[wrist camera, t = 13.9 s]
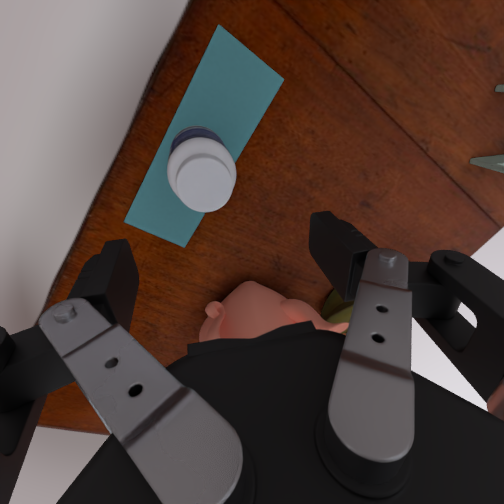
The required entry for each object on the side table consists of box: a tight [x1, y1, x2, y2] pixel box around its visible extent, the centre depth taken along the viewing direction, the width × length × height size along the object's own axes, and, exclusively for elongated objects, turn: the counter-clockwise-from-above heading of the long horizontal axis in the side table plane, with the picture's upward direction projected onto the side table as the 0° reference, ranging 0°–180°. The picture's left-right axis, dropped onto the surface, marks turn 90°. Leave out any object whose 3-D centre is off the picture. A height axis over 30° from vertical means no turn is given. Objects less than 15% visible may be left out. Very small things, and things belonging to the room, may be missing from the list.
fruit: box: [321, 289, 355, 334], centre depth 40 cm, size 11×12×7 cm
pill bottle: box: [167, 126, 236, 212], centre depth 24 cm, size 5×5×10 cm
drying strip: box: [124, 24, 284, 248], centre depth 28 cm, size 20×7×1 cm, turn 146°
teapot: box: [199, 281, 349, 342], centre depth 36 cm, size 15×17×13 cm
